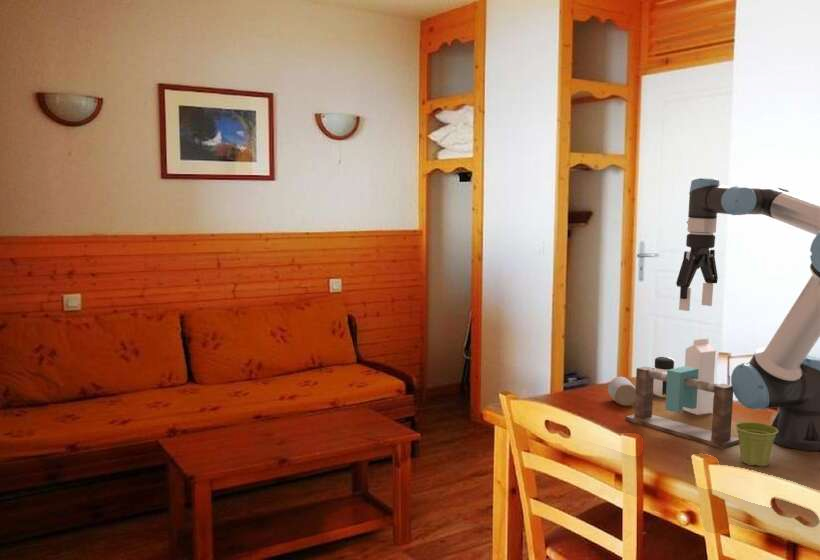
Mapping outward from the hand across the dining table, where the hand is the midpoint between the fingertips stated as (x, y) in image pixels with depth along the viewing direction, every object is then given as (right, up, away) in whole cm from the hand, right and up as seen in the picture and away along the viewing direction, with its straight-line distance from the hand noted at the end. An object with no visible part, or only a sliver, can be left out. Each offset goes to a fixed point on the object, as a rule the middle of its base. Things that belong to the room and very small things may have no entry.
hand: (695, 307), depth 214 cm
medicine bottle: (+1, -29, +31) cm, 42 cm away
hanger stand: (-7, -33, -8) cm, 35 cm away
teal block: (-7, -27, -9) cm, 30 cm away
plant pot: (+2, -37, -32) cm, 49 cm away
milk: (+5, -32, +11) cm, 34 cm away
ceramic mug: (-14, -31, +19) cm, 39 cm away
